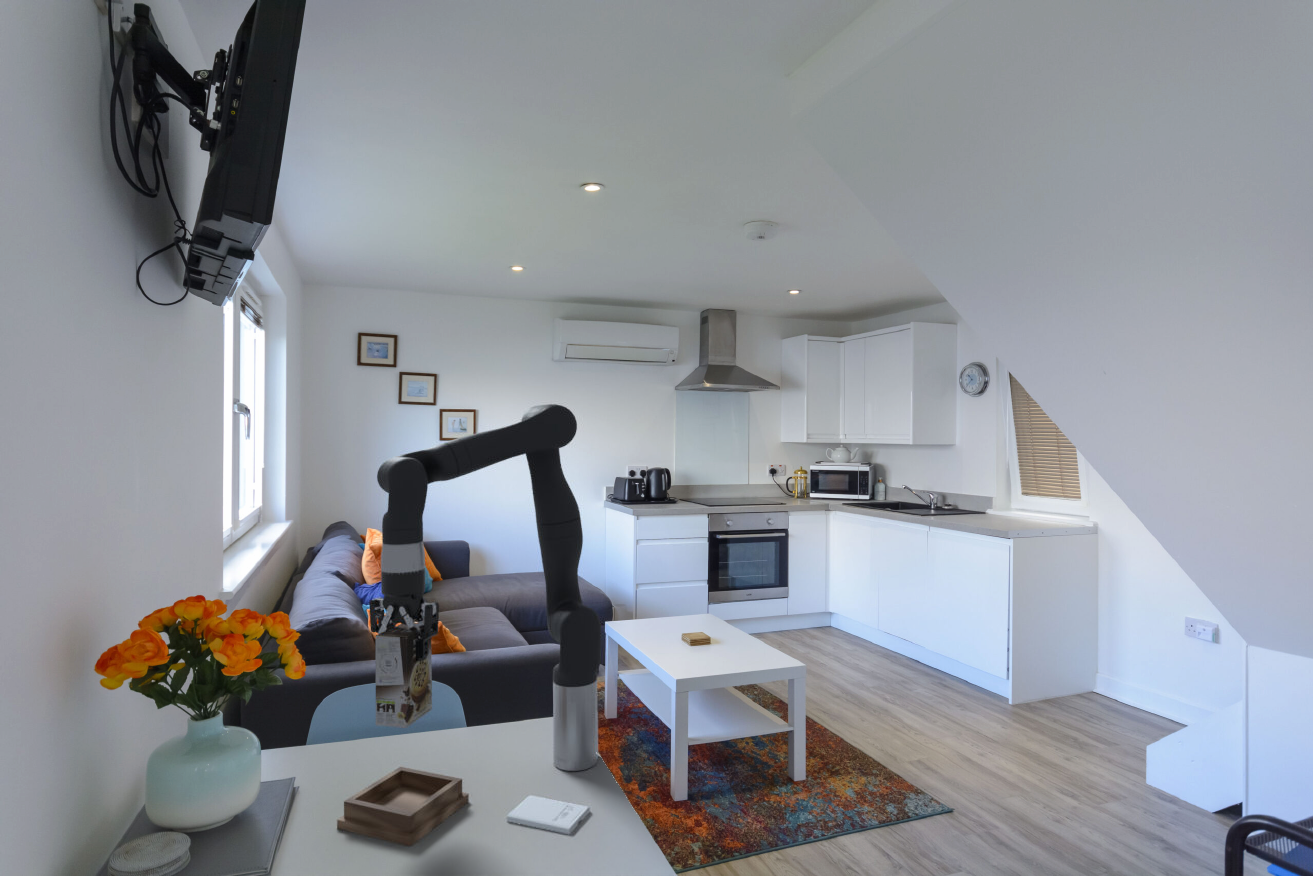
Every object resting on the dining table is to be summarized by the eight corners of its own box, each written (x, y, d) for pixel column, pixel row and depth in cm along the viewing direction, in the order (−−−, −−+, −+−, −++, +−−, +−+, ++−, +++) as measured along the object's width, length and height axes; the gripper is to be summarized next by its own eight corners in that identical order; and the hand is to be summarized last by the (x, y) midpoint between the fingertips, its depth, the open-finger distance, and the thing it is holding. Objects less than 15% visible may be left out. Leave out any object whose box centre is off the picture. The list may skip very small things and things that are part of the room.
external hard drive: (530, 803, 138) (590, 814, 134) (506, 824, 130) (569, 837, 126) (530, 794, 138) (589, 805, 134) (506, 815, 130) (569, 827, 126)
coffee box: (407, 729, 128) (406, 636, 128) (374, 726, 129) (373, 635, 129) (433, 709, 137) (432, 623, 137) (402, 707, 138) (401, 621, 138)
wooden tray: (400, 787, 143) (400, 764, 143) (468, 801, 138) (468, 777, 138) (337, 828, 129) (336, 802, 129) (410, 846, 123) (410, 819, 123)
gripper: (449, 565, 134) (450, 656, 134) (386, 561, 139) (387, 648, 139) (421, 573, 127) (422, 668, 127) (356, 568, 132) (358, 660, 132)
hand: (404, 658), depth 133 cm, fingers closed on coffee box, 7 cm apart
